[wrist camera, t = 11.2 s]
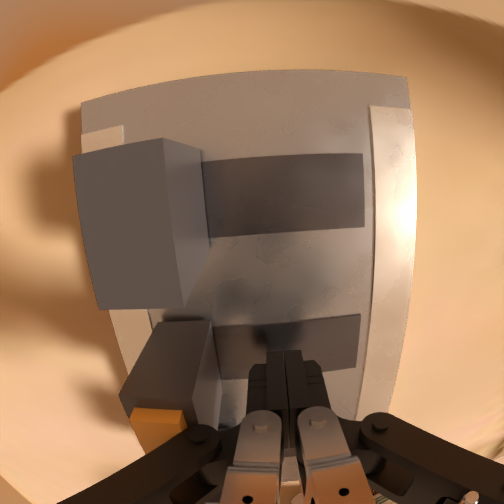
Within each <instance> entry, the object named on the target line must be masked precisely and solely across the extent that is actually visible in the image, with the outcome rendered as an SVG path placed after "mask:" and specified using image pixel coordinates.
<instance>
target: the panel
mask: <svg viewBox="0 0 504 504" xmlns="http://www.w3.org/2000/svg"><path fill="white" fill-rule="evenodd" d="M81 123H82V135H81V145H82V154H83V153H87V152H91V151H96V150H100V149H105V148H109V147H114V146H119V145H124V144H129V143H134V142H139V141H145V140H151V139H157V138H166V139H169V140H173V141H176V142H179V143H183V144H186V145H189V146H192V147H195V148H199V149H200V158H201V169H202V180H203V191H204V201H205V211H206V220H207V230H208V239H209V248H210V253H209V255H208V257H207V259H206V261H205V263H204V266H203V268H202V270H201V272H200V274H199V276H198V279H197V281H196V283H195V285H194V287H193V290H192V292H191V294H190V296H189V298H188V301H187V303H186V305H185V307H184V308H167V309H129V310H109V313H110V317H111V321H112V324H113V328H114V331H115V335H116V338H117V341H118V345H119V348H120V351H121V354H122V357H123V360H124V363H125V366H126V369H127V372H128V375H129V374H130V372H131V370H132V368H133V366H134V365H135V363H136V361H137V359H138V357H139V355H140V353H141V352H142V350H143V348H144V346H145V344H146V342H147V341H148V339H149V337H150V335H151V333H152V331H153V330H154V328H155V326H156V324H157V322H173V321H202V320H211V324H212V331H213V337H214V344H215V350H216V356H217V362H218V368H219V374H220V379H221V385H222V398H221V406H220V415H219V423H218V429H230V428H233V427H235V426H237V425H238V424H240V423H241V421H242V419H243V418H244V417H245V415H246V404H247V390H248V376H249V371H250V369H251V368H252V366H253V365H254V364H265V363H266V352H274V351H283V355H284V351H288V350H301V352H302V357H303V361H307V360H315V361H316V362H317V363H318V364H319V365H320V366H321V370H322V373H323V377H324V381H325V385H326V389H327V393H328V397H329V401H330V405H331V409H332V411H334V412H335V414H336V415H337V416H339V417H341V418H343V419H346V420H354V421H362V420H363V419H364V418H365V417H366V416H367V415H369V414H371V413H375V412H385V413H388V409H389V405H390V402H391V398H392V394H393V390H394V385H395V381H396V377H397V372H398V368H399V363H400V358H401V353H402V348H403V342H404V336H405V330H406V324H407V318H408V311H409V303H410V295H411V287H412V277H413V266H414V253H415V236H416V201H417V190H416V155H415V138H414V126H413V115H412V109H411V107H410V99H409V91H408V84H407V77H401V76H394V75H385V74H376V73H366V72H353V71H336V70H268V71H251V72H238V73H227V74H217V75H209V76H201V77H194V78H187V79H181V80H175V81H169V82H164V83H158V84H153V85H148V86H144V87H139V88H134V89H130V90H126V91H122V92H118V93H114V94H110V95H106V96H103V97H99V98H96V99H92V100H89V101H85V102H82V103H81ZM298 480H299V477H298V472H297V466H296V448H290V444H289V443H288V448H285V449H284V461H283V463H282V481H281V482H288V481H298Z"/></svg>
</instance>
